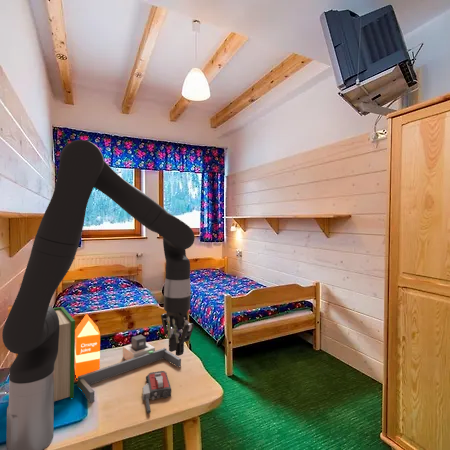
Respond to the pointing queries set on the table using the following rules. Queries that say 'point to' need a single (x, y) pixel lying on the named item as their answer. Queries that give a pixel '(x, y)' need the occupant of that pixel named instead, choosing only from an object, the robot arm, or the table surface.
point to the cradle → (122, 369)
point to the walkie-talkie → (156, 387)
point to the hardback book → (64, 356)
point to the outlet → (130, 353)
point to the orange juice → (87, 347)
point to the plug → (138, 342)
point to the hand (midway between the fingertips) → (175, 352)
